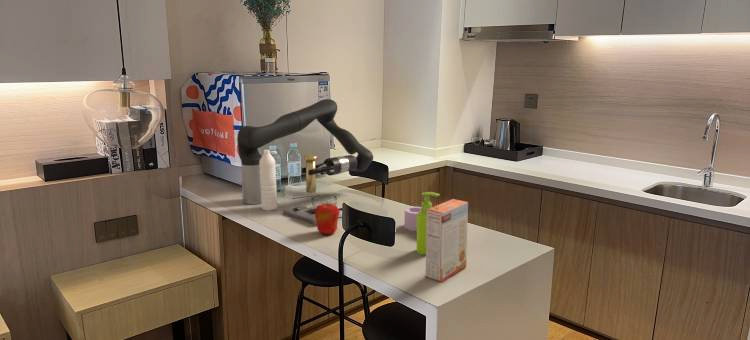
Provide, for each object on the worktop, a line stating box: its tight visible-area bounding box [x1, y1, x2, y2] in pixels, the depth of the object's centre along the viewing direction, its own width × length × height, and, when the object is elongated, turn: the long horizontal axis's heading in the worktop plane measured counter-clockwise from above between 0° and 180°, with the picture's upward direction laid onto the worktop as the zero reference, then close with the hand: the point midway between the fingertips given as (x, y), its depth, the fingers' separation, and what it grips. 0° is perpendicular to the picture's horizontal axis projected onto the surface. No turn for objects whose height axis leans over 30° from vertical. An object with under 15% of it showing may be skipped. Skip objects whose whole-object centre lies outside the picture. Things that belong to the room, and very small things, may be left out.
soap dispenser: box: [416, 191, 440, 256], centre depth 164 cm, size 6×7×20 cm
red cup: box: [315, 202, 340, 236], centre depth 182 cm, size 9×8×12 cm
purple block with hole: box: [403, 206, 421, 232], centre depth 185 cm, size 20×12×7 cm, turn 55°
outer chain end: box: [297, 206, 317, 226], centre depth 197 cm, size 13×9×4 cm
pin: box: [303, 154, 318, 194], centre depth 210 cm, size 6×6×15 cm
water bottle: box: [259, 149, 278, 211], centre depth 209 cm, size 9×6×25 cm
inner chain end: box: [282, 205, 315, 225], centre depth 202 cm, size 19×9×2 cm, turn 47°
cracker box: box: [425, 198, 469, 283], centre depth 148 cm, size 14×6×21 cm, turn 139°
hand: (305, 171), depth 207 cm, fingers closed on pin, 4 cm apart
